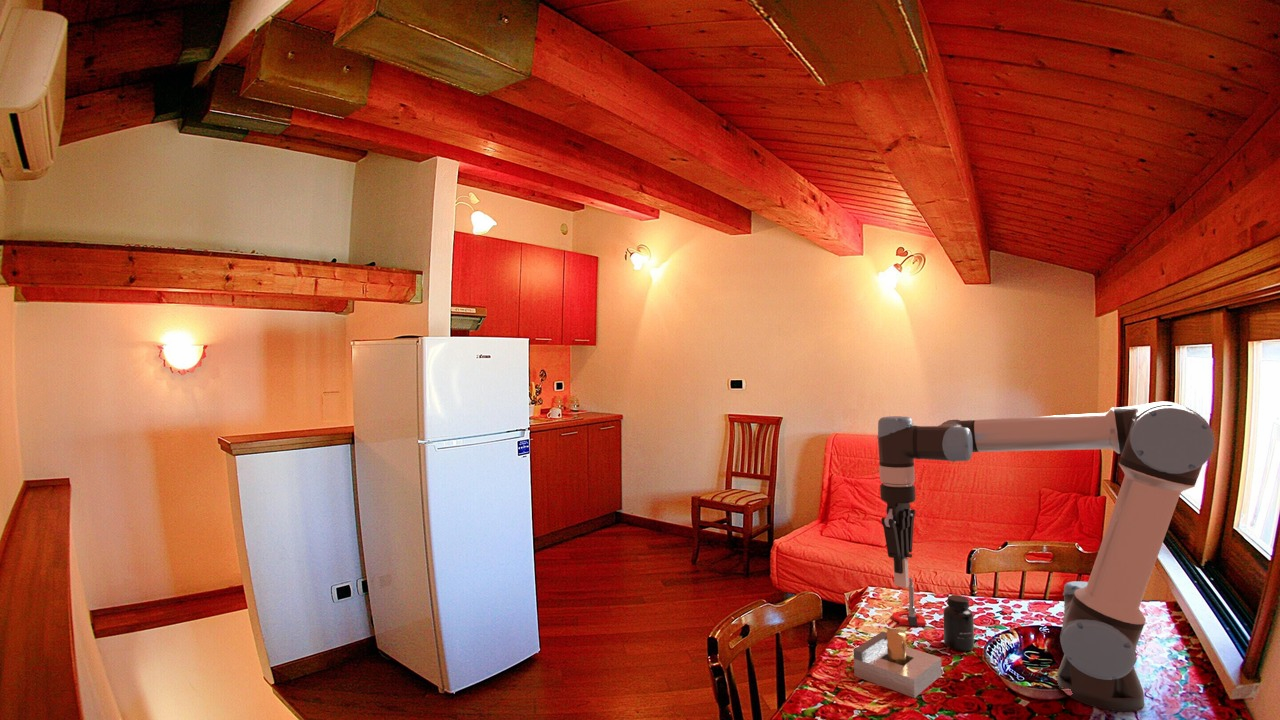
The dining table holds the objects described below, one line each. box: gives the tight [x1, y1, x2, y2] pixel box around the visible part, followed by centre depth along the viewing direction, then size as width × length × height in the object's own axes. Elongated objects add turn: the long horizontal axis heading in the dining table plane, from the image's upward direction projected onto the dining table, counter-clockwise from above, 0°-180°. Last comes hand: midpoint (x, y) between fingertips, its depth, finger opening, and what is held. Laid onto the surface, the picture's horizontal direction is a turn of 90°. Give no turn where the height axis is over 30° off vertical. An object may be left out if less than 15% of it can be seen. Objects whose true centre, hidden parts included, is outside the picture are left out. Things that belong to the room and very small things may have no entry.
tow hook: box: [891, 577, 927, 627], centre depth 179 cm, size 8×13×9 cm
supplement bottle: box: [943, 594, 975, 652], centre depth 162 cm, size 7×7×12 cm
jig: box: [853, 630, 943, 699], centre depth 148 cm, size 14×14×6 cm
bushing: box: [886, 628, 907, 666], centre depth 148 cm, size 4×4×10 cm
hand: (901, 585), depth 148 cm, fingers closed
